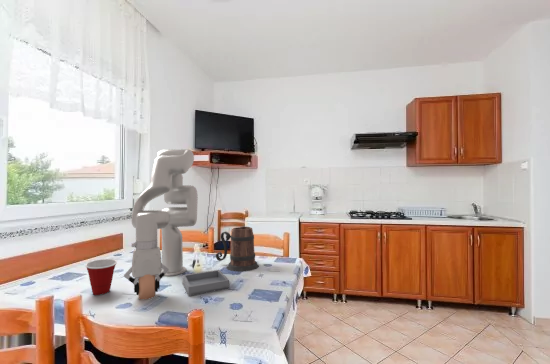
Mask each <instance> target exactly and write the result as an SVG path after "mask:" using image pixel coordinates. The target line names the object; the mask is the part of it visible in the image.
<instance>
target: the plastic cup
mask: <svg viewBox="0 0 550 364" xmlns="http://www.w3.org/2000/svg"><path fill="white" fill-rule="evenodd" d="M117 264H118V260H116V259H113V258H112V259H111V258H110V259H109V258H103V259H96V260H95V259H94V260H92V261H88V262H87V263H85V265H84V267H85V268H86V270H87V273H88V278H89V284H90V287H91V288H90V289H91V293H92V294H93V295H94V296H100V294H102V295H105V293H106V294H108V293H110V291H111V287H112V282H113V277H114V274H115V273H114V271H115V267H116V265H117ZM107 292H108V293H107Z"/></svg>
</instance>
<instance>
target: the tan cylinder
mask: <svg viewBox="0 0 550 364" xmlns="http://www.w3.org/2000/svg"><path fill="white" fill-rule="evenodd" d="M138 293H139V295H137V297H138V299H139V300H142V299H144V300H150V299H153V298H155V297H156V296H155V295H156V293H157V292H156V277H155V275H153V276H152V275H150V274H148V275H144V276H143V277H139V279H138ZM154 296H155V297H154ZM152 297H153V298H152ZM149 298H150V299H149Z"/></svg>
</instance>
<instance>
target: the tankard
mask: <svg viewBox="0 0 550 364" xmlns="http://www.w3.org/2000/svg"><path fill="white" fill-rule="evenodd" d="M224 235H225V237H224ZM225 238H226V239H225ZM220 239H221V242H222V244H223V247H224V251H223V252H224V253H223V252H221V251H219V252H216V254H215V258H216V260H217V261H219V262H222V261H224V260H225V259H226V258H227V254H228V243H227V242H228V241H229V240H230V254H229V258H230V262H228V264H227V265H226V268H225V269H226V270H228V271H230V272H235V273H236V272H238V273H239V272H241V273H243V272H251V271H255V270H257V269H259V267H260V264H259V263H258V262H257V261H256V253H255V234H254V231H253V228H252V227H250V226H239V227H233V228H232V230H231V234H230V232H229V231H223V232H221V234H220Z"/></svg>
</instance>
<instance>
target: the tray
mask: <svg viewBox="0 0 550 364" xmlns="http://www.w3.org/2000/svg"><path fill="white" fill-rule="evenodd" d="M181 280H182V282H181V283H182V286H183V288H184V290H185V292H186V294H187V296H188V297H193V296H199V295H203V294H209V293H214V292H220V291H224V290H230V279H229V278H228V277H227V276H226V275H225V274H224V273H223V272H222V271H221V270H220V269H216V270H215V269H214V270H210V271H209V270H208V271H202V272H201V271H200V272H196V273H188V274H183V275H182V279H181Z"/></svg>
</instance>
